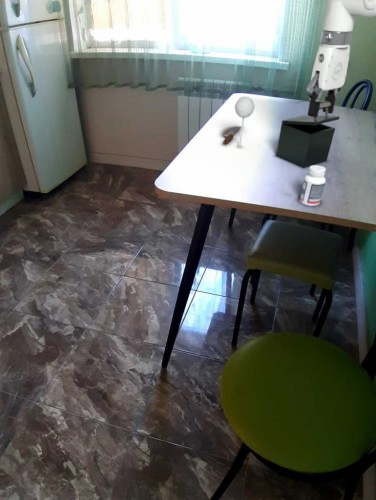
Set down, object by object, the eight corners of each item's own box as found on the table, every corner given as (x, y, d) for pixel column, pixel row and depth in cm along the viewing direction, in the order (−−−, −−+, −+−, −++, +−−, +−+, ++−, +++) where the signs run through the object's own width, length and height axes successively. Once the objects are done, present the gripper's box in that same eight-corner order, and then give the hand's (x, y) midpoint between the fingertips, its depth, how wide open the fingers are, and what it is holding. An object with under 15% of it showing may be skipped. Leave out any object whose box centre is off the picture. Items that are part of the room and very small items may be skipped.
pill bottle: (323, 202, 108) (332, 168, 102) (313, 208, 106) (322, 174, 100) (306, 195, 111) (314, 162, 105) (295, 201, 108) (303, 167, 102)
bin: (326, 161, 130) (335, 128, 123) (303, 168, 125) (311, 134, 118) (298, 150, 137) (305, 118, 130) (275, 156, 131) (281, 123, 125)
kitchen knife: (228, 124, 152) (242, 124, 151) (228, 129, 153) (242, 129, 152) (213, 139, 137) (228, 139, 135) (213, 144, 138) (228, 145, 136)
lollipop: (233, 151, 134) (239, 99, 123) (228, 144, 138) (233, 94, 127) (251, 150, 135) (258, 99, 124) (245, 144, 139) (252, 94, 129)
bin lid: (339, 119, 121) (341, 98, 118) (314, 125, 116) (316, 103, 113) (306, 117, 130) (307, 98, 127) (281, 123, 125) (282, 103, 122)
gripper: (326, 43, 101) (311, 122, 114) (367, 38, 109) (348, 112, 122) (302, 39, 106) (290, 116, 118) (343, 35, 114) (327, 107, 126)
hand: (320, 113), depth 120 cm, fingers closed on bin lid, 6 cm apart
